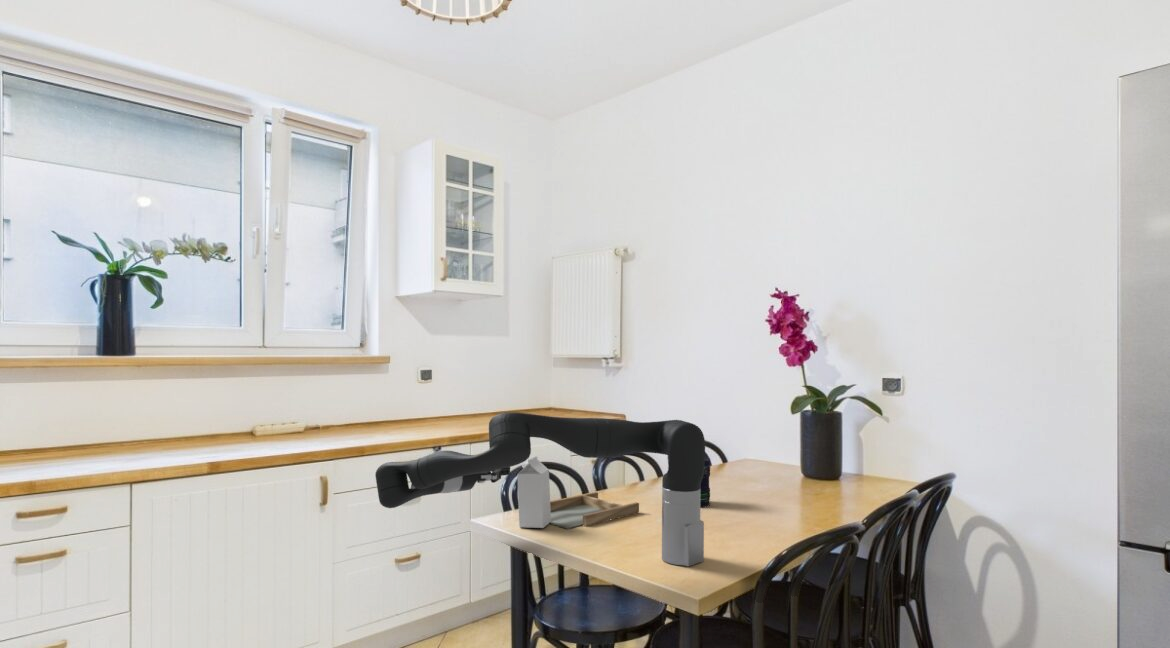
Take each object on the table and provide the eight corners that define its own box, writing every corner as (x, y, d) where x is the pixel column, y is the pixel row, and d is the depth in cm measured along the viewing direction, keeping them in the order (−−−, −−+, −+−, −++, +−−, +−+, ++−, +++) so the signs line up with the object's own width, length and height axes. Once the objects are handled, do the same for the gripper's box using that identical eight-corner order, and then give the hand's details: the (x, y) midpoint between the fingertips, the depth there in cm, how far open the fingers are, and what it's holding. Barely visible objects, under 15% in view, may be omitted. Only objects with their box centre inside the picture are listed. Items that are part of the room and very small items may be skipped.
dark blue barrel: (677, 506, 201) (678, 459, 201) (681, 499, 210) (682, 455, 211) (708, 508, 198) (709, 461, 198) (711, 501, 207) (711, 456, 208)
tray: (638, 512, 192) (639, 503, 192) (569, 530, 172) (570, 519, 172) (595, 501, 206) (595, 491, 206) (527, 515, 186) (527, 505, 186)
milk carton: (551, 521, 178) (548, 455, 180) (543, 528, 172) (540, 459, 173) (528, 521, 180) (525, 455, 182) (519, 528, 174) (516, 459, 175)
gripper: (468, 466, 153) (524, 460, 164) (440, 458, 162) (495, 452, 174) (466, 497, 152) (522, 488, 164) (439, 486, 162) (493, 479, 174)
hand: (508, 470), depth 169 cm, fingers closed
